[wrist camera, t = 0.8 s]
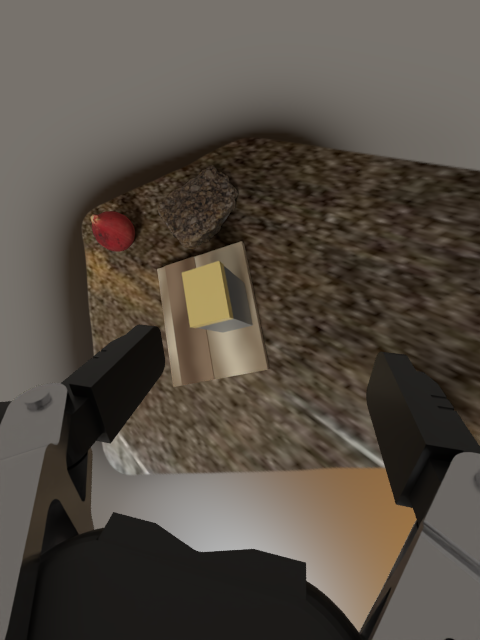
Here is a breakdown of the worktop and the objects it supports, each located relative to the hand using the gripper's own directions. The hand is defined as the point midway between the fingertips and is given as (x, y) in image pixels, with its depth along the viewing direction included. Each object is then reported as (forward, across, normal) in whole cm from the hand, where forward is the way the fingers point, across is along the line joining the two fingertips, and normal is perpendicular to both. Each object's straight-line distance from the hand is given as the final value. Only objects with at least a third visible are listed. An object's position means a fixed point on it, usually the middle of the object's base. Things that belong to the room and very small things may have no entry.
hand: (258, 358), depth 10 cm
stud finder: (+24, +7, +9) cm, 26 cm away
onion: (+33, +26, +3) cm, 42 cm away
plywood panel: (+24, +10, +11) cm, 29 cm away
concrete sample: (+34, +13, -1) cm, 36 cm away
